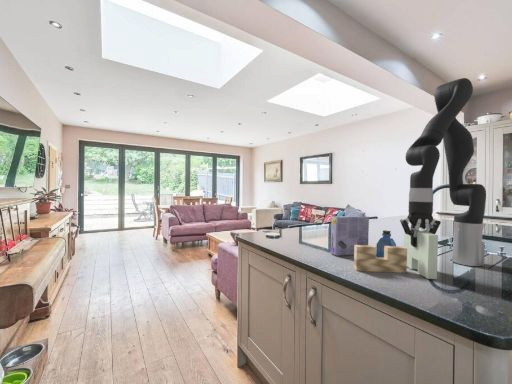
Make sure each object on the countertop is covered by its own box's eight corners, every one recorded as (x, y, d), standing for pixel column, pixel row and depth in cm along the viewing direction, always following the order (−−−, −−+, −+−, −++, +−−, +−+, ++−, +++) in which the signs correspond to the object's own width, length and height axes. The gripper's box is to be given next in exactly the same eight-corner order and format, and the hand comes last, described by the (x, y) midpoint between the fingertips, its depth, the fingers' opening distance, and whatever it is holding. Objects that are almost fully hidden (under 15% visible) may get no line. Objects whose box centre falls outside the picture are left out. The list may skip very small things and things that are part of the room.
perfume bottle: (395, 258, 112) (396, 231, 112) (391, 260, 108) (392, 232, 107) (380, 255, 116) (381, 229, 116) (376, 257, 112) (376, 231, 111)
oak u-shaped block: (402, 270, 96) (403, 246, 95) (406, 272, 93) (407, 248, 92) (353, 268, 97) (354, 244, 97) (356, 270, 94) (356, 246, 94)
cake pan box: (363, 251, 123) (364, 215, 123) (370, 253, 119) (371, 216, 118) (329, 253, 117) (330, 216, 117) (336, 256, 112) (337, 217, 112)
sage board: (411, 264, 102) (412, 227, 101) (436, 279, 86) (438, 235, 85) (403, 264, 102) (404, 227, 101) (427, 278, 86) (428, 235, 85)
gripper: (434, 200, 96) (432, 245, 97) (396, 199, 97) (394, 243, 98) (447, 201, 89) (446, 250, 89) (406, 200, 90) (404, 248, 90)
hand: (419, 246), depth 93 cm, fingers closed on sage board, 3 cm apart
